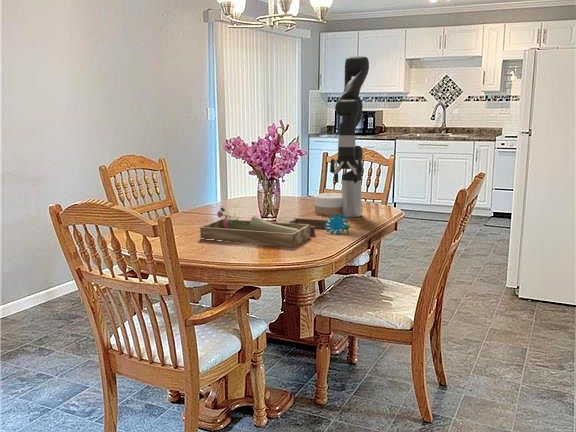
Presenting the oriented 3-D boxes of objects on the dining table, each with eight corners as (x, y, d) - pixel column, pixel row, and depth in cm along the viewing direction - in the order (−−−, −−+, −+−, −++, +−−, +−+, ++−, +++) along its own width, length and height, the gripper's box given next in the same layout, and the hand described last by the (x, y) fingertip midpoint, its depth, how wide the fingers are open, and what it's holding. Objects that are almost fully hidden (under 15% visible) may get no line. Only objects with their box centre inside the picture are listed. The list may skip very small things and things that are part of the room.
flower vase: (289, 261, 224) (208, 237, 233) (299, 245, 234) (221, 222, 243) (292, 235, 218) (208, 212, 227) (302, 220, 228) (222, 198, 237)
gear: (320, 229, 237) (329, 210, 241) (323, 237, 242) (332, 218, 246) (344, 235, 232) (353, 215, 236) (347, 243, 237) (356, 223, 241)
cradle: (295, 225, 254) (295, 217, 253) (326, 227, 248) (326, 219, 248) (280, 233, 239) (280, 224, 238) (313, 235, 234) (313, 227, 233)
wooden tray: (222, 230, 247) (221, 218, 246) (310, 236, 231) (310, 224, 230) (199, 239, 230) (199, 227, 229) (293, 247, 214) (293, 234, 214)
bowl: (350, 215, 277) (351, 198, 275) (315, 215, 277) (315, 198, 276) (348, 208, 294) (348, 192, 292) (314, 209, 294) (314, 193, 292)
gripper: (364, 146, 253) (363, 183, 255) (333, 145, 259) (333, 181, 261) (360, 146, 246) (359, 184, 249) (328, 145, 252) (327, 182, 254)
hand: (345, 182), depth 255 cm, fingers open, 8 cm apart
